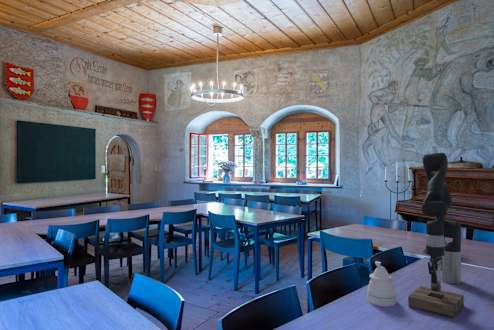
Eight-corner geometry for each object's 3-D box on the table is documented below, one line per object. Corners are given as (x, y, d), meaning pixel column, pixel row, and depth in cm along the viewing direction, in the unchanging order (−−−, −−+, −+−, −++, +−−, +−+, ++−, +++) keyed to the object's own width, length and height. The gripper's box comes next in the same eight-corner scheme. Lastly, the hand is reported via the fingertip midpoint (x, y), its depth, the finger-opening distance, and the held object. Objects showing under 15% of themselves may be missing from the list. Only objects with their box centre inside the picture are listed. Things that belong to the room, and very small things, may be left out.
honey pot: (361, 298, 167) (360, 261, 167) (381, 294, 172) (380, 258, 173) (381, 308, 156) (380, 268, 156) (402, 303, 161) (401, 264, 161)
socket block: (421, 295, 169) (421, 285, 169) (463, 305, 157) (463, 294, 157) (408, 306, 156) (408, 295, 156) (453, 318, 144) (453, 306, 144)
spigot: (432, 287, 159) (431, 264, 159) (441, 289, 157) (441, 265, 157) (429, 290, 157) (429, 266, 157) (439, 292, 154) (438, 267, 154)
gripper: (431, 240, 164) (431, 276, 164) (420, 245, 154) (421, 284, 154) (448, 242, 159) (449, 279, 159) (439, 248, 149) (440, 288, 149)
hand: (435, 281), depth 157 cm, fingers closed on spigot, 4 cm apart
